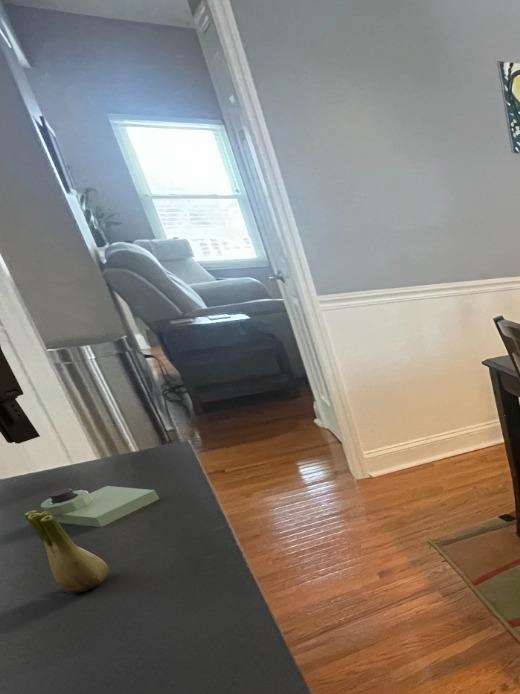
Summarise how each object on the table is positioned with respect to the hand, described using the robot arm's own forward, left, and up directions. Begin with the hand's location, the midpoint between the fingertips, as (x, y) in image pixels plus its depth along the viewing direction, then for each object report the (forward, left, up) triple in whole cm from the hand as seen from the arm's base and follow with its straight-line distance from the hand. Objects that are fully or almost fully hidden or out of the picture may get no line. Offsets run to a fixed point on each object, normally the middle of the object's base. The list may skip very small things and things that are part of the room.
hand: (24, 439), depth 94 cm
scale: (+3, +2, -14) cm, 15 cm away
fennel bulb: (+25, -14, -15) cm, 33 cm away
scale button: (0, 0, -11) cm, 11 cm away
